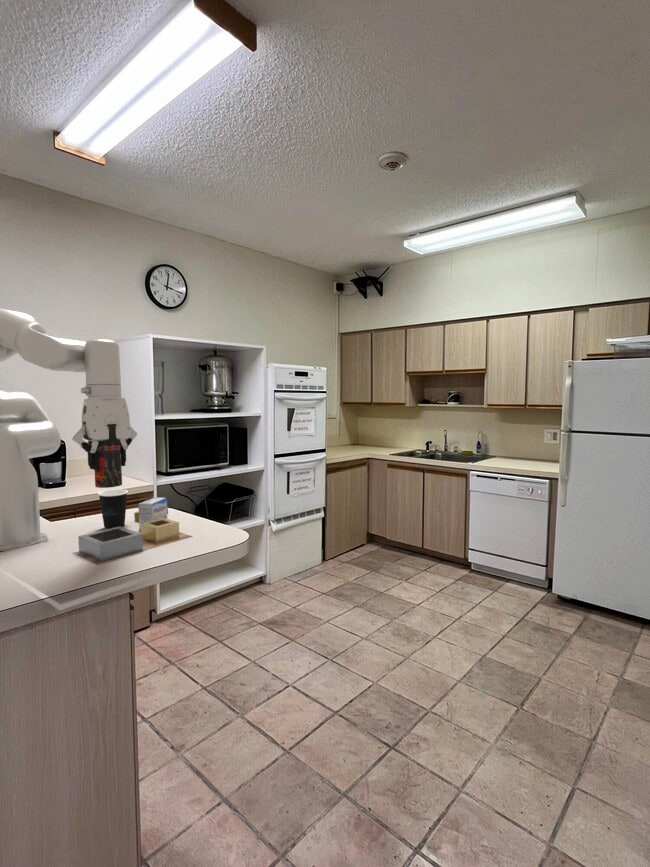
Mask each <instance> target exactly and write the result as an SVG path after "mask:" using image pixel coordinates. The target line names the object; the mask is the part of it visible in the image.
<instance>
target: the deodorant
mask: <svg viewBox="0 0 650 867" xmlns="http://www.w3.org/2000/svg"><path fill="white" fill-rule="evenodd" d="M116 426H117V424H107V427H109V439H107V440H105V441H99V443H98V446H97V449H96V453H98V456H99V469H98V470H94V485H95V486H94V487H95V488H98V489H103V488H104V489H106V488H108V489H109V488H114V487H115V488H117V487H120V486H122V485H123V473H122V466H121V449H120V439H117V438H116ZM107 429H108V428H107Z"/></svg>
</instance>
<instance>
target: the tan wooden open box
mask: <svg viewBox="0 0 650 867" xmlns="http://www.w3.org/2000/svg"><path fill="white" fill-rule="evenodd" d="M179 532H180V522H179V521H177V520H172V519H169V518H167V519H166V518H161V519H157V520H153V521H149V522H145V523H141V530H140V533H141V534H142V539H145V540H148V541H150V542H153V543H159V542H163V541H166V540H170V539H173V538H177V537H179Z"/></svg>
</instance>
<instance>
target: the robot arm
mask: <svg viewBox="0 0 650 867" xmlns="http://www.w3.org/2000/svg"><path fill="white" fill-rule="evenodd" d="M17 354H18V355H19V356H20V357H21V358H22V359H23V360H24V361H26V362H28V363H31V364H34V365H36V366H38V367H40V368H43V369H45V370H50V371H54V372H55V371H56V372H74V373H85V385H84V386H85V387H80V393H81V394H84V395H85V396H86V398H84V399H83V403H82V411H81V427H80V429H78V431H77V432H76V433H75V434H74V435H73V436H72V437H71V438H72V441H74V443H76V444H77V445H78V446H79V447H81V449H83V450H84V451H85V453H87V465H88V466H89V470H98V469H99V456H98V453H96V449H97V446H98V443H99V441H105V440H107V439H109V427H107V424H117V426H116V438H117V439H120V449H121V467H125V466H126V464H127V463H126V462H127V450H128V448H129V446H130V445H131V444H132V442H133V440H135V439H136V437H137V436H138V432H136V431H135V429H133V428H132V427H131V418H130V414H129V408H128V404H127V400H126V398H124V397H122V380H121V378H122V377H121V359H120V357H121V356H120V346H119V343H118V342H116V341H115V340H111V339H102V338H101V339H100V338H99V339H97V338H96V339H95V338H94V339H89V340H86V341H83V340H75V339H69V338H60V337H55V336H51V335H47V333H46V331H45V328H44V327H43V326H42V325H41V323H39V322H37V320H36V319H35V318H34V317H33V316H31V315H30V314H29V313H25V312H22V311H16V310H12V309H11V310H10V309H6V308H2V307H1V308H0V362H4V361H6V360H9V359H10V358H11V357H13V356H15V355H17ZM107 428H108V429H107ZM61 438H62V437H61V434H60V432H59V429H58V428H57V426H56V424H55V423H54V421H53V420H52V419H51V417H50V416H49V414H48V413H47V411H46V410H45V409H44V407H43V406H42V405H41V403H40V402H39V401H38V399H37V398H36V397H35V396H33V395H32V394H30V393H29V392H26V391H21V390H4V389H2V388H0V552H8V551H9V552H10V551H12V550H13V551H14V550H17V549H20V548H25V547H30V546H34V545H37V544H38V545H39V544H42V543H46V542H47V541H48V539H49V538H48V534H46V533H44V532H41V519H40V518H41V517H40V516H41V515H40V499H39V498H40V495H39V494H40V493H39V479H38V473H37V471H36V469H35V467H34V465H33V464H32V462H30V459H33V458H40V457H46V456H50V455H53V454H54V453H56V452H57V451H58V449H59V448H60V446H61V443H62V442H61ZM85 440H87V441H85Z"/></svg>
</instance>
